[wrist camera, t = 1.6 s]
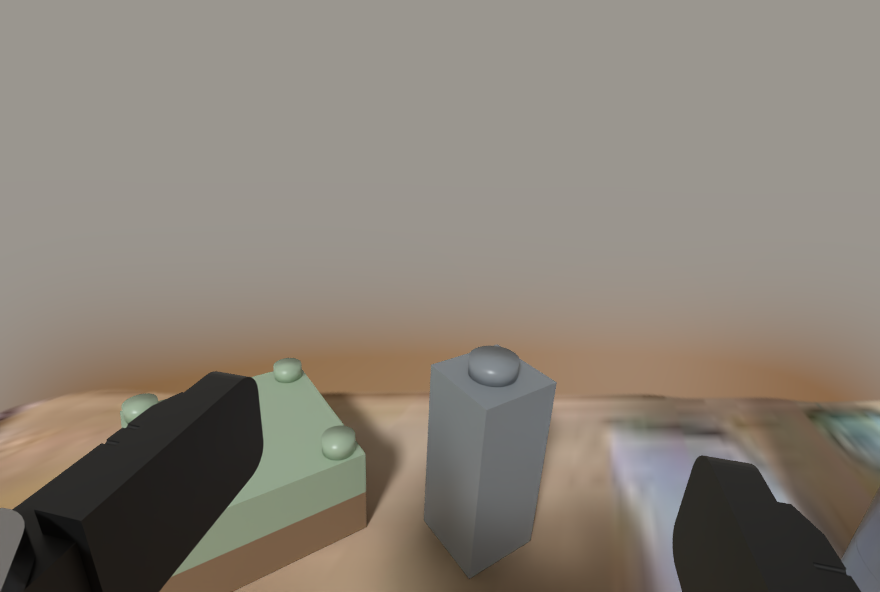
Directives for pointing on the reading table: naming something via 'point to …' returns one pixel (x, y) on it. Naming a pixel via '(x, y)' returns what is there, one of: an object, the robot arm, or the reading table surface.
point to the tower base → (279, 488)
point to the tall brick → (485, 453)
